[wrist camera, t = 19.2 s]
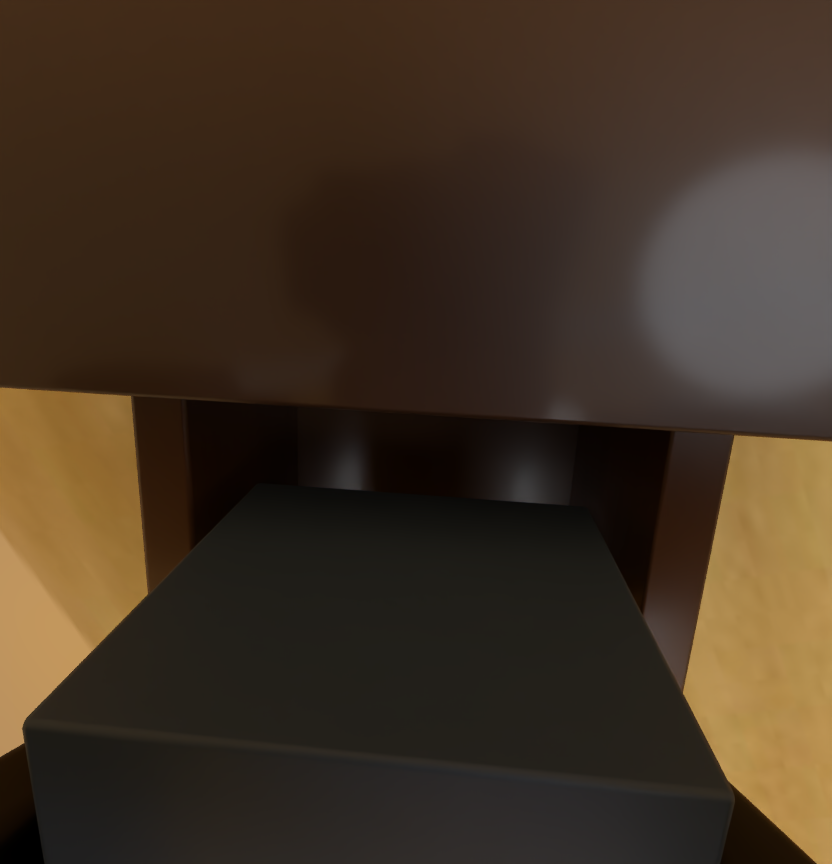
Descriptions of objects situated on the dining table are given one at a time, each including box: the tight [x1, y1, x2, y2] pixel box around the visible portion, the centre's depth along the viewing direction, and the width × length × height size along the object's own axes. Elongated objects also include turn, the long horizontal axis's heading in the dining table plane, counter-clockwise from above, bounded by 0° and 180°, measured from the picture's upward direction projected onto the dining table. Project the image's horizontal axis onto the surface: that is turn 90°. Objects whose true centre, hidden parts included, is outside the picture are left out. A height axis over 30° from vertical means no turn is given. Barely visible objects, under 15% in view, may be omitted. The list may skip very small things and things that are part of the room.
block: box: [22, 483, 735, 864], centre depth 7 cm, size 5×5×5 cm
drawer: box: [131, 396, 734, 693], centre depth 12 cm, size 16×9×7 cm, turn 177°
